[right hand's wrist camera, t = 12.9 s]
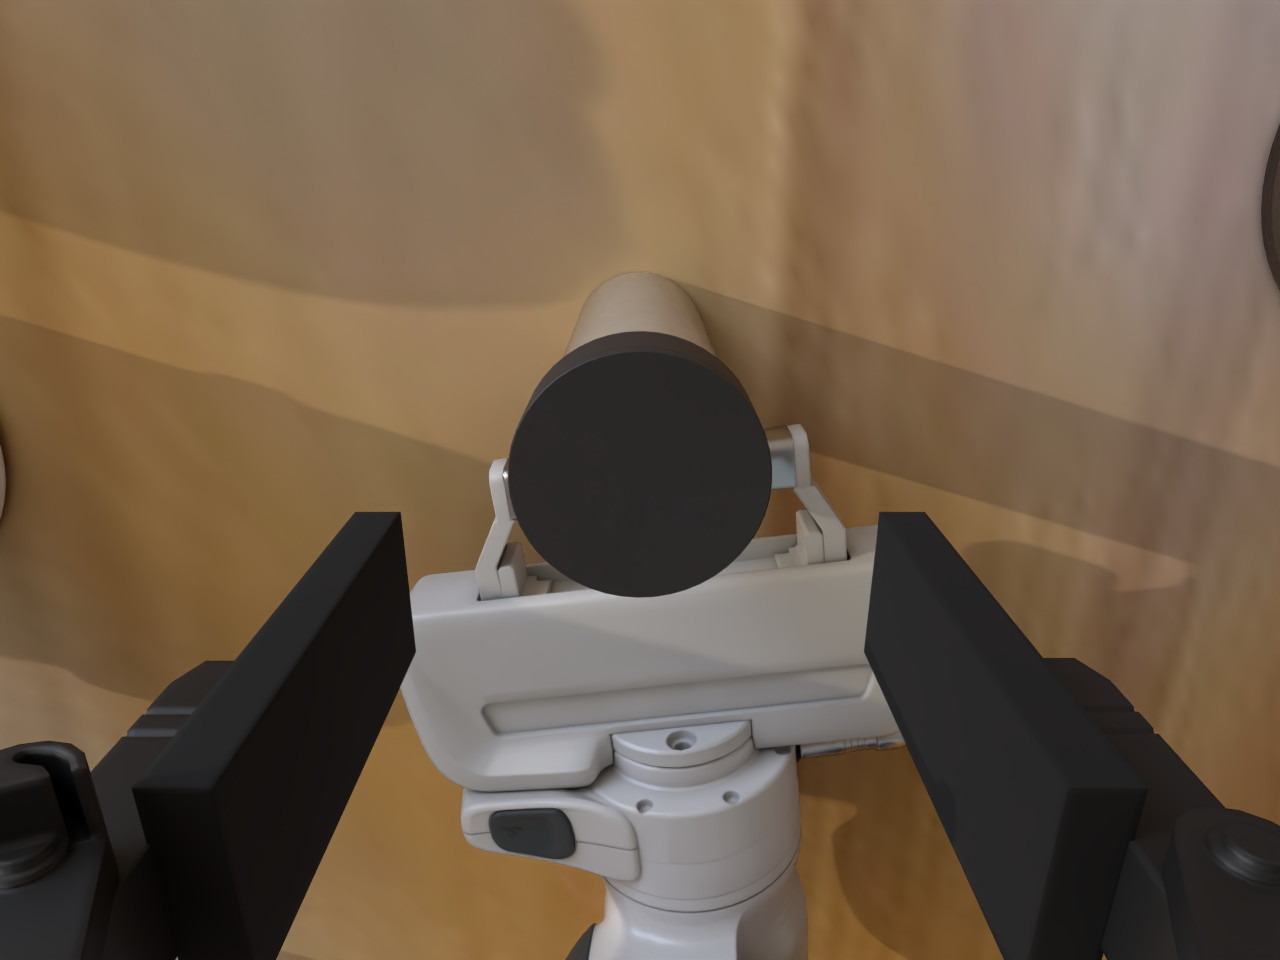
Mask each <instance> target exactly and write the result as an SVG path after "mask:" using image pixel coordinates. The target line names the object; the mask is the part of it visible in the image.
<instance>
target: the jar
mask: <svg viewBox="0 0 1280 960" xmlns="http://www.w3.org/2000/svg"><path fill="white" fill-rule="evenodd" d="M632 331H648V332H659V333H664V334H669V335H673V336H676V337H679V338H682V339H685V340H688V341H690V342H692V343H694V344H696V345H698V346H700V347H702V348H704V349H705V350H707V351H708V352H710V353H711V354H713V355H714V356H715V357H717V356H716V353H715V351H714V348H713V346H712V343H711V341H710V338H709V336H708V333H707V330H706V328H705V325H704V323H703V320H702V318H701V315H700V313H699V311H698V308H697V306H696V305H695V303H694V301H693V300H692V298H691V297H690V296H689V295H688V293H687V292H686V291H684V290H683V289H682V288H681V287H680V286H679V285H677V284H676V283H674V282H673V281H671V280H669V279H667V278H665V277H662V276H659V275H656V274H651V273H642V272H640V273H629V274H624V275H621V276H618V277H615V278H613V279H611V280H609V281H607V282H606V283H604V284H603V285H601V286H600V287H599V288H598V289H597V290H595V291H594V292H593V294H592V295H591V296H590V297H589V298H588V300H587V301H586V303H585V304H584V306H583V308H582V310H581V313H580V315H579V318H578V320H577V323H576V325H575V328H574V330H573V333H572V336H571V338H570V341H569V343H568V346H567V348H566V351H565V353H564V356H566V355H567V354H569V353H570V352H572V351H573V350H575V349H576V348H578V347H580V346H582V345H584V344H586V343H588V342H590V341H592V340H595V339H598V338H601V337H604V336H607V335H611V334H616V333H622V332H632ZM564 356H563V357H564Z"/></svg>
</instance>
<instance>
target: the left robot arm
mask: <svg viewBox="0 0 1280 960" xmlns="http://www.w3.org/2000/svg"><path fill="white" fill-rule="evenodd" d="M763 430H764V432H765V434H766V438H767V441H768V445H769V448H770V454H771V461H772V487H771V490H772V489H783V488H792V489H793V490H794V492H795V493H796V494H797V496H798V497H799V499H800V500H801V501H802V503H803V504H804V505H805V507H806V508H807V509H804V510H798V511H797V512H796V528H797V534H789V535H780V536H771V537H762V538H753V539H752V540H751V542H750V543H749V545H748V546H747V547H746V548H745V549H744V551H743V552H742V553H741V554H740V555H739V556H738V557H737V558H736V559H735V560H734V561H733V562H732V563H731V564H730V565H729V566H728V567H726V568H725V569H724V570H722V571H721V572H720V573H718V574H717V575H716V576H714V577H712V578H710V579H709V580H707V581H705V582H703V583H701V584H699V585H697V586H694V587H692V588H690V589H687V590H684V591H681V592H677V593H674V594H670V595H664V596H657V597H643V598H635V597H622V596H616V595H611V594H606V593H603V592H599V591H596V590H593V589H590V588H588V587H586V586H583V585H581V584H579V583H577V582H575V581H573V580H571V579H570V578H568V577H566V576H565V575H563V574H561V573H560V572H559V571H558V570H556V569H555V568H554V567H552V566H551V565H550V564H549V563H548V562H539V563H530V564H525V560H524V555H523V550H522V545H521V544H520V543H519V542H512V543H508V544H507V546H506V542H507V540H508V537H509V535H510V532H511V530H512V527H513V524H514V522H515V519H517V518H516V515H515V513H514V511H513V507H512V503H511V499H510V495H509V487H508V460H509V458H504V459H498V460H494V461H493V463H492V466H491V468H490V470H489V484H490V489H491V494H492V499H493V504H494V509H495V514H496V517H495V520H494V522H493V525H492V527H491V530H490V532H489V535H488V537H487V540H486V543H485V545H484V548H483V550H482V553H481V555H480V558H479V561H478V563H477V566H476V568H475V570H467V571H458V572H449V573H439V574H431V575H427V576H424V577H422V578H421V579H420V580H419V581H418V582H417V583H416V585H415V586H414V587H413V589H412V590H411V591H410V601H411V610H412V619H413V628H414V637H415V646H416V653H415V656H414V658H413V660H412V662H411V664H410V667H409V669H408V671H407V673H406V675H405V677H404V680H403V682H402V684H401V686H400V689H401V692H402V695H403V698H404V700H405V703H406V706H407V709H408V711H409V714H410V716H411V719H412V722H413V724H414V726H415V729H416V731H417V733H418V736H419V738H420V740H421V743H422V745H423V747H424V749H425V751H426V753H427V755H428V756H429V758H430V760H431V761H432V763H433V764H434V765H435V767H436V768H437V769H438V770H439V771H440V772H441V773H442V774H443V775H444V776H445V777H446V778H447V779H449V780H450V781H452V782H453V783H455V784H457V785H459V786H462V787H464V790H463V797H462V807H461V826H462V830H463V834H464V836H465V838H466V840H467V841H468V843H469V844H471V845H472V846H473V847H475V848H477V849H480V850H483V851H488V852H494V853H500V854H507V855H514V856H520V857H526V858H533V859H538V860H543V861H549V862H553V863H558V864H562V865H567V866H571V867H574V868H578V869H582V870H585V871H588V872H591V873H595V874H598V875H601V876H602V878H603V880H604V883H605V887H606V897H605V917H604V919H603V921H602V922H601V923H600V924H595V923H594V924H593V925H592V926H590V927H589V928H588V929H587V931H586V932H585V933H584V934H583V935H582V936H581V938H580V939H579V940H578V942H577V943H576V944H575V946H574V947H573V949H572V950H571V952H570V953H569V955H568V956H567V958H566V959H565V960H808V925H807V907H806V899H805V893H804V889H803V885H802V882H801V879H800V876H799V874H798V872H797V869H796V867H795V864H796V862H797V858H798V854H799V849H800V843H801V818H800V803H799V788H798V775H797V765H796V762H798V761H799V759H804V758H805V759H807V758H816V757H826V756H835V755H841V754H844V753H845V754H846V753H850V752H855V751H857V750H858V751H861V750H864V749H865V750H870V749H876V750H877V751H886V750H894V749H898V748H902V747H905V746H907V745H906V743H905V741H904V739H903V737H902V735H901V732H900V730H899V728H898V726H897V724H896V721H895V719H894V717H893V715H892V713H891V710H890V708H889V706H888V704H887V702H886V699H885V697H884V695H883V693H882V691H881V688H880V686H879V684H878V682H877V680H876V677H875V675H874V673H873V671H872V669H871V667H870V664H869V662H868V660H867V658H866V656H865V653H864V646H865V637H866V628H867V619H868V610H869V601H870V592H871V583H872V574H873V566H874V557H875V548H876V539H877V530H878V525H869V526H860V527H851V528H845V527H844V525H843V523H842V521H841V520H840V518H839V516H838V514H837V512H836V511H835V509H834V507H833V505H832V504H831V503H830V501H829V500H828V498H827V497H826V496H825V494H824V493H823V492H822V490H821V489H820V487H819V486H818V485H817V483H816V482H815V481H814V479H813V478H812V476H811V474H810V455H809V443H808V438H807V434H806V432H805V430H804V429H803V427H802V425H801V424H795V425H787V426H778V427H770V428H763ZM5 493H6V475H5V465H4V458H3V453H2V449H1V445H0V519H1V515H2V512H3V507H4V502H5Z"/></svg>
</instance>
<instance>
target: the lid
mask: <svg viewBox="0 0 1280 960" xmlns="http://www.w3.org/2000/svg"><path fill="white" fill-rule="evenodd" d="M508 487H509V495H510V499H511V503H512V507H513V511H514V513H515V515H516V518H517V520H518V523H519V525H520V527H521V529H522V530H523V532H524V534H525V536H526V537H527V539H528V540H529V542H530V543H531V544H532V546H533V547H534V548H535V550H536V551H537V552H538V553H539V554H540V555H541V556H542V557H543V558H544V559H545V560H546V561H547V562H548V563H549V564H550V565H551V566H552V567H554V568H555V569H556V570H558V571H559V572H560V573H561V574H563V575H565V576H566V577H568V578H570V579H571V580H573V581H575V582H577V583H579V584H581V585H583V586H586V587H588V588H590V589H593V590H596V591H599V592H603V593H606V594H611V595H616V596H622V597H635V598H643V597H657V596H664V595H670V594H674V593H677V592H681V591H684V590H687V589H690V588H692V587H694V586H697V585H699V584H701V583H703V582H705V581H707V580H709V579H710V578H712V577H714V576H716V575H717V574H718V573H720V572H721V571H722V570H724V569H725V568H726V567H728V566H729V565H730V564H731V563H732V562H733V561H734V560H735V559H736V558H737V557H738V556H739V555H740V554H741V553H742V552H743V551H744V549H745V548H746V547H747V546H748V545H749V543H750V542H751V540H752V539H753V537H754V535H755V534H756V532H757V531H758V529H759V527H760V525H761V522H762V520H763V518H764V516H765V513H766V510H767V506H768V503H769V500H770V494H771V487H772V461H771V454H770V448H769V445H768V441H767V438H766V434H765V432H764V430H763V427H762V425H761V423H760V421H759V418H758V416H757V414H756V412H755V410H754V407H753V405H752V403H751V401H750V399H749V397H748V394H747V393H746V391H745V389H744V388H743V386H742V385H741V383H740V381H739V380H738V379H737V378H736V376H735V375H734V374H733V373H732V371H731V370H730V369H729V368H728V367H727V366H726V365H725V364H724V363H722V362H721V361H720V360H719V359H718V358H717V357H715V356H714V355H713V354H711V353H710V352H708V351H707V350H705V349H704V348H702V347H700V346H698V345H696V344H694V343H692V342H690V341H688V340H685V339H682V338H679V337H676V336H673V335H669V334H664V333H659V332H648V331H632V332H622V333H616V334H611V335H607V336H604V337H601V338H598V339H595V340H592V341H590V342H588V343H586V344H584V345H582V346H580V347H578V348H576V349H575V350H573V351H572V352H570V353H569V354H567V355H566V356H564V357H563V358H562V359H561V360H560V361H559V362H557V363H556V364H555V365H554V366H553V367H552V368H551V369H550V370H549V372H548V373H547V374H546V375H545V376H544V377H543V379H542V380H541V382H540V383H539V385H538V386H537V388H536V389H535V391H534V393H533V395H532V397H531V399H530V401H529V403H528V405H527V407H526V410H525V412H524V414H523V416H522V418H521V420H520V423H519V425H518V427H517V429H516V432H515V435H514V438H513V441H512V444H511V448H510V454H509V460H508Z"/></svg>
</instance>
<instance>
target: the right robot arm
mask: <svg viewBox="0 0 1280 960" xmlns="http://www.w3.org/2000/svg"><path fill="white" fill-rule="evenodd" d="M1261 212H1262V233H1263V241H1264V247H1265V251H1266V255H1267V260H1268V263H1269V266H1270V269H1271V271H1272V274H1273V277H1274V279H1275V281H1276V283H1277V285H1278V287H1279V289H1280V125H1279V128H1278V130H1277V133H1276V136H1275V139H1274V142H1273V144H1272V148H1271V152H1270V155H1269V159H1268V163H1267V167H1266V173H1265V178H1264V184H1263V193H1262V206H1261ZM415 653H416V646H415V637H414V628H413V619H412V610H411V601H410V592H409V583H408V575H407V566H406V557H405V548H404V539H403V530H402V521H401V512H355V513H354V514H353V515H352V517H351V518H350V519H349V520H348V522H347V523H346V524H345V525H344V527H343V528H342V529H341V530H340V531H339V533H338V534H337V535H336V536H335V538H334V539H333V540H332V541H331V543H330V544H329V545H328V546H327V548H326V549H325V550H324V551H323V552H322V554H321V555H320V556H319V557H318V559H317V560H316V561H315V562H314V564H313V565H312V566H311V567H310V568H309V570H308V571H307V572H306V573H305V575H304V576H303V577H302V578H301V580H300V581H299V582H298V583H297V585H296V586H295V587H294V588H293V589H292V591H291V592H290V593H289V594H288V596H287V597H286V598H285V599H284V601H283V602H282V603H281V604H280V605H279V607H278V608H277V609H276V610H275V612H274V613H273V614H272V615H271V617H270V618H269V619H268V620H267V622H266V623H265V624H264V625H263V626H262V628H261V629H260V630H259V631H258V633H257V634H256V635H255V636H254V638H253V639H252V640H251V641H250V642H249V644H248V645H247V646H246V647H245V649H244V650H243V651H242V652H241V654H240V655H239V656H238V657H237V659H236V660H235V661H205V662H203V663H202V664H200V665H199V666H197V667H195V668H194V669H192V670H191V671H189V672H187V673H186V674H184V675H183V676H181V677H180V678H178V679H176V680H175V681H173V682H172V683H170V684H169V686H168V687H167V688H166V689H165V690H164V691H163V692H162V693H161V694H160V696H159V697H158V698H157V699H156V700H155V701H154V702H153V703H152V704H151V706H150V707H149V708H148V709H147V714H146V715H142V716H141V717H140V718H139V719H138V720H137V721H136V722H135V723H134V724H133V726H132V727H131V728H130V729H129V730H128V731H127V732H128V734H127V737H122V738H121V739H120V740H119V741H118V742H117V743H116V745H115V746H114V747H113V748H112V749H111V750H110V751H109V752H108V753H107V755H106V756H105V757H104V758H103V759H102V760H101V761H100V762H99V763H98V765H97V766H96V767H95V768H94V769H93V770H92V771H91V772H90V770H89V766H88V763H87V760H86V756H85V753H84V752H82V751H81V750H79V749H78V748H77V747H75V746H74V745H72V744H69V743H62V742H54V741H43V742H35V743H27V744H19V745H16V746H12V747H9V748H6V749H3V750H0V960H175V959H176V957H177V956H178V960H276V958H277V956H278V954H279V952H280V950H281V947H282V945H283V943H284V941H285V939H286V936H287V934H288V932H289V930H290V928H291V925H292V923H293V921H294V919H295V917H296V914H297V912H298V910H299V908H300V906H301V903H302V901H303V899H304V897H305V895H306V892H307V890H308V888H309V886H310V884H311V881H312V879H313V877H314V875H315V873H316V871H317V868H318V866H319V864H320V862H321V860H322V857H323V855H324V853H325V851H326V849H327V846H328V844H329V842H330V840H331V838H332V835H333V833H334V831H335V829H336V827H337V824H338V822H339V820H340V818H341V816H342V813H343V811H344V809H345V807H346V805H347V803H348V800H349V798H350V796H351V794H352V792H353V789H354V787H355V785H356V783H357V781H358V778H359V776H360V774H361V772H362V770H363V767H364V765H365V763H366V761H367V759H368V756H369V754H370V752H371V750H372V748H373V745H374V743H375V741H376V739H377V737H378V735H379V732H380V730H381V728H382V726H383V724H384V721H385V719H386V717H387V715H388V713H389V710H390V708H391V706H392V704H393V702H394V699H395V697H396V695H397V693H398V691H399V688H400V686H401V684H402V682H403V680H404V677H405V675H406V673H407V671H408V669H409V667H410V664H411V662H412V660H413V658H414V656H415ZM864 653H865V656H866V658H867V660H868V662H869V664H870V667H871V669H872V671H873V673H874V675H875V677H876V680H877V682H878V684H879V686H880V688H881V691H882V693H883V695H884V697H885V699H886V702H887V704H888V706H889V708H890V710H891V713H892V715H893V717H894V719H895V721H896V724H897V726H898V728H899V730H900V732H901V735H902V737H903V739H904V741H905V743H906V745H907V748H908V750H909V752H910V754H911V756H912V759H913V761H914V763H915V765H916V767H917V770H918V772H919V774H920V776H921V778H922V781H923V783H924V785H925V787H926V789H927V792H928V794H929V796H930V798H931V800H932V803H933V805H934V807H935V809H936V811H937V813H938V816H939V818H940V820H941V822H942V824H943V827H944V829H945V831H946V833H947V835H948V838H949V840H950V842H951V844H952V846H953V849H954V851H955V853H956V855H957V857H958V860H959V862H960V864H961V866H962V868H963V871H964V873H965V875H966V877H967V879H968V881H969V884H970V886H971V888H972V890H973V892H974V895H975V897H976V899H977V901H978V903H979V906H980V908H981V910H982V912H983V914H984V917H985V919H986V921H987V923H988V925H989V928H990V930H991V932H992V934H993V936H994V939H995V941H996V943H997V945H998V947H999V950H1000V952H1001V954H1002V956H1003V958H1004V960H1102V956H1103V953H1104V955H1105V956H1106V958H1107V960H1280V826H1279V825H1277V824H1275V823H1273V822H1271V821H1269V820H1266V819H1263V818H1260V817H1257V816H1255V815H1252V814H1249V813H1246V812H1243V811H1240V810H1234V809H1227V808H1225V807H1224V806H1223V805H1222V804H1221V803H1220V801H1219V800H1218V799H1217V798H1216V797H1215V796H1214V795H1213V794H1212V793H1211V792H1210V790H1209V789H1208V788H1207V787H1206V786H1205V785H1204V784H1203V783H1202V782H1201V780H1200V779H1199V778H1198V777H1197V776H1196V775H1195V774H1194V773H1193V772H1192V771H1191V769H1190V768H1189V767H1188V766H1187V765H1186V764H1185V763H1184V762H1183V761H1182V759H1181V758H1180V757H1179V756H1178V755H1177V754H1176V753H1175V752H1174V751H1173V750H1172V748H1171V747H1170V746H1169V745H1168V744H1167V743H1166V742H1165V741H1164V740H1163V738H1162V737H1161V736H1160V735H1159V734H1154V732H1153V727H1152V726H1151V725H1150V724H1149V723H1148V722H1147V721H1146V720H1145V719H1144V717H1143V716H1142V715H1141V714H1140V713H1139V712H1134V706H1133V705H1132V704H1131V703H1130V702H1129V701H1128V700H1127V699H1126V698H1125V696H1124V695H1123V694H1122V693H1121V692H1120V691H1119V690H1118V689H1117V688H1116V687H1115V685H1114V684H1113V683H1112V682H1111V681H1110V680H1108V679H1107V678H1105V677H1104V676H1102V675H1101V674H1099V673H1097V672H1096V671H1094V670H1093V669H1091V668H1089V667H1088V666H1086V665H1085V664H1083V663H1081V662H1080V661H1078V660H1077V659H1075V658H1043V657H1042V656H1041V655H1040V654H1039V652H1038V651H1037V650H1036V649H1035V647H1034V646H1033V645H1032V644H1031V642H1030V641H1029V640H1028V639H1027V638H1026V636H1025V635H1024V634H1023V633H1022V631H1021V630H1020V629H1019V628H1018V626H1017V625H1016V624H1015V623H1014V622H1013V620H1012V619H1011V618H1010V617H1009V615H1008V614H1007V613H1006V612H1005V610H1004V609H1003V608H1002V607H1001V605H1000V604H999V603H998V602H997V601H996V599H995V598H994V597H993V596H992V594H991V593H990V592H989V591H988V589H987V588H986V587H985V586H984V585H983V583H982V582H981V581H980V580H979V578H978V577H977V576H976V575H975V573H974V572H973V571H972V570H971V568H970V567H969V566H968V565H967V564H966V562H965V561H964V560H963V559H962V557H961V556H960V555H959V554H958V552H957V551H956V550H955V549H954V548H953V546H952V545H951V544H950V543H949V541H948V540H947V539H946V538H945V536H944V535H943V534H942V533H941V531H940V530H939V529H938V528H937V527H936V525H935V524H934V523H933V522H932V520H931V519H930V518H929V517H928V515H927V514H926V513H925V512H879V521H878V530H877V539H876V548H875V557H874V566H873V574H872V583H871V592H870V601H869V610H868V619H867V628H866V637H865V646H864Z"/></svg>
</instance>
